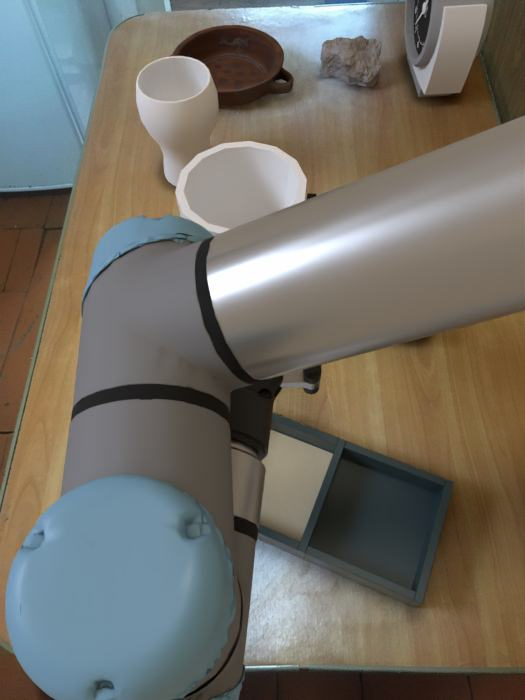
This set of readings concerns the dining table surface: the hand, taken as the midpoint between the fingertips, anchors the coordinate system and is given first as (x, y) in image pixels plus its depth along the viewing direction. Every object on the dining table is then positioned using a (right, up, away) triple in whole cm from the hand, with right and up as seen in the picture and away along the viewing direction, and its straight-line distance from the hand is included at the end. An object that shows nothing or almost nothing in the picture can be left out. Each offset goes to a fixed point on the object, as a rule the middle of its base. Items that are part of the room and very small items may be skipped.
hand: (252, 201), depth 47 cm
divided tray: (+7, -29, +11) cm, 31 cm away
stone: (+15, +34, +46) cm, 59 cm away
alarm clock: (+29, +33, +46) cm, 63 cm away
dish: (-5, +32, +46) cm, 56 cm away
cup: (-10, +14, +36) cm, 40 cm away
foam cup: (0, -7, +4) cm, 8 cm away
